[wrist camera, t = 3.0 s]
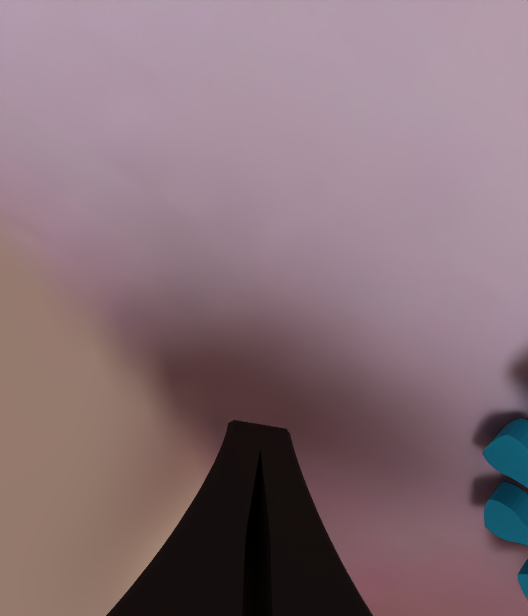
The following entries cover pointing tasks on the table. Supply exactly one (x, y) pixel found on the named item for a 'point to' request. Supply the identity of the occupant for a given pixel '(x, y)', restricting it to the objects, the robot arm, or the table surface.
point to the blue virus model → (510, 489)
